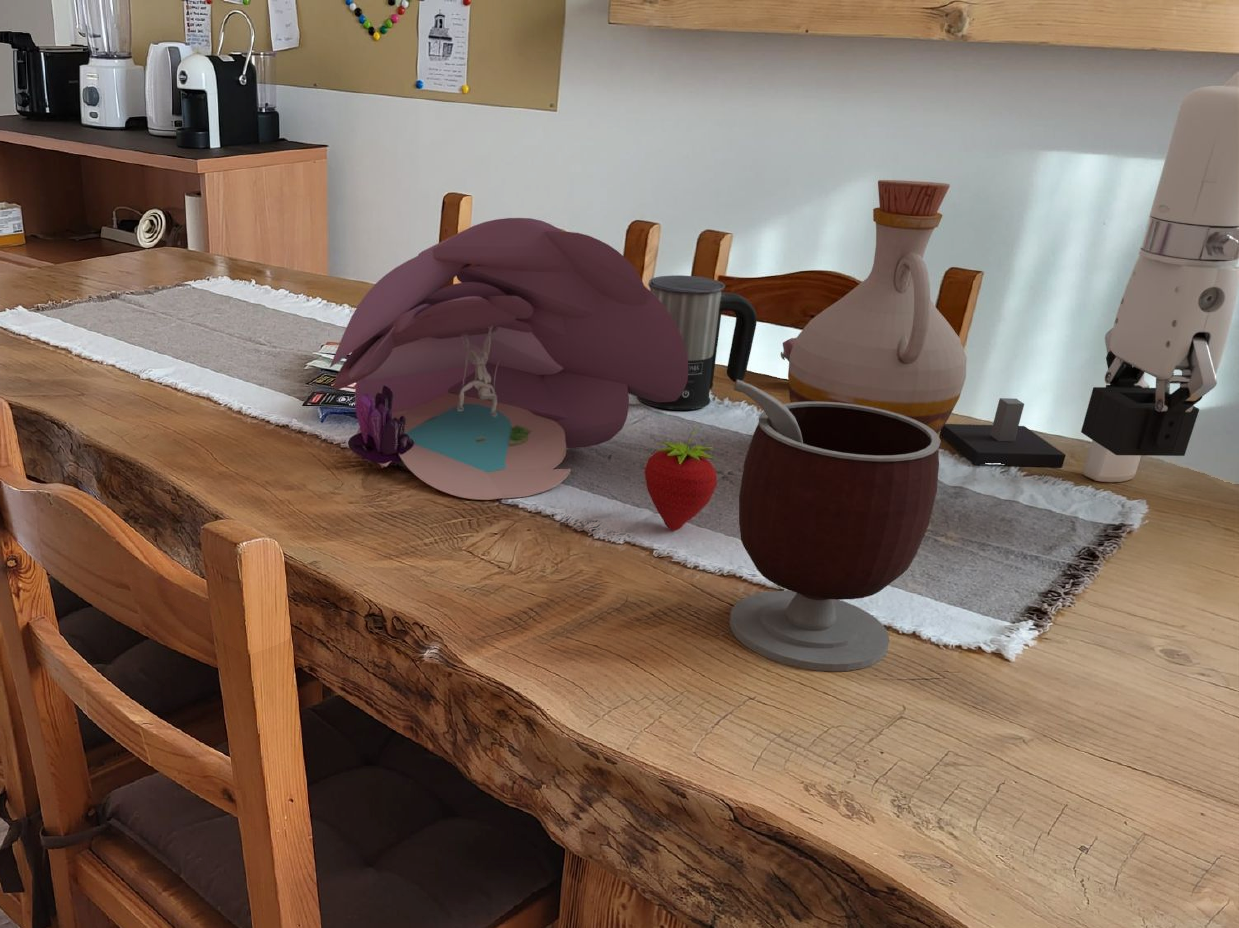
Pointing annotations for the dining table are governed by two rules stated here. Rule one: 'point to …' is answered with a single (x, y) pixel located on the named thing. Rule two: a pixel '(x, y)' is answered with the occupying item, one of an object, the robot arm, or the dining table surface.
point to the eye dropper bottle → (1111, 461)
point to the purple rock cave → (504, 357)
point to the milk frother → (704, 332)
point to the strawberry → (680, 482)
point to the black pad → (1127, 420)
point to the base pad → (1003, 440)
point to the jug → (887, 324)
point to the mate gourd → (829, 525)
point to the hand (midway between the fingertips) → (1133, 437)
